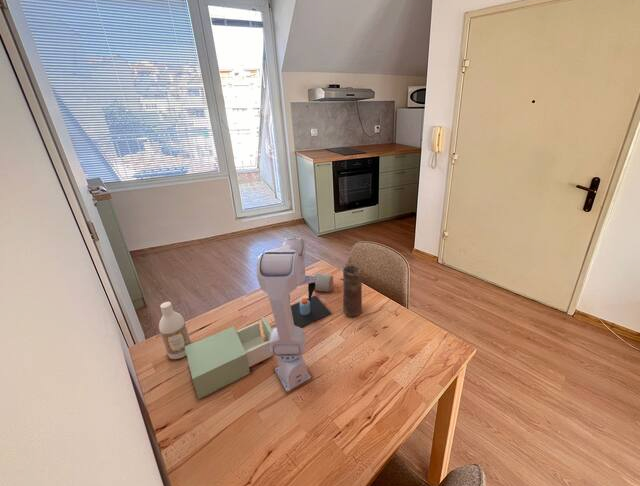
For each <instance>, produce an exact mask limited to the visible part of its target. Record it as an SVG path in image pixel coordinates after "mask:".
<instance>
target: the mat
mask: <svg viewBox="0 0 640 486" xmlns="http://www.w3.org/2000/svg"><path fill="white" fill-rule="evenodd" d="M306 299H307V300H309V298H306ZM299 303H300V301H299V302H297V303H295V304H292V305H291V310H292V316H293V321H294V325H295V326H297V327H300V328H302V329H303V328H304V327H305V326H308V325H310V324H312V323H314V322H316V321H318V320H319V321H320V320H321V319H323V318H325V317H327V316H330V315H331V314H332V313H331V311H330V310H329V309H328V308H327V307H326V306H325V304H323V303H322V301H320V299H319V298H318V297H317V296H316V295H312V296H311V301H310V313H309V314H307V315H302V314H301V313H300V304H299Z"/></svg>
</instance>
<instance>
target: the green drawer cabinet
mask: <svg viewBox="0 0 640 486" xmlns="http://www.w3.org/2000/svg"><path fill="white" fill-rule="evenodd" d="M236 331H237V329H236V328H235V326H231V327H229V328H226V329H224V330H221V331H219V332H216V333H214V334H212V335H208V336H207V337H204V338H202V339H200V340H197V341H194V342H191V344H189V345H187V346H185V351H186V360H187V362H188V367H189V371H190V375H191V379H192V382H193V385H194V389H195V392H196V396H197V398H198V400H200V399H203V398H204V397H206V396H209V395H210V394H212V393H214V392H216V391H218V390H220V389H222V388H224V387H226V386H227V385H228V386H229V385H230V384H232V383H234V382H236V381H238V380H240V379H242V378H244V377H246V376H248V375H250V374H251V372H250V371H251V370H250V367H249V365H248V360H247V354H246V352H245V350H244V347H243V345H242V343H241V341H240V339H239V337H238V335H237V332H236Z"/></svg>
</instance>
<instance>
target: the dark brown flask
mask: <svg viewBox="0 0 640 486" xmlns="http://www.w3.org/2000/svg"><path fill="white" fill-rule="evenodd" d="M342 276H343V277H342V278H343V279H342V282H343V283H342V285H343V286H342V292H343V295H342V296H343V297H342V298H343V299H342V301H343V302H342V303H343V304H342V305H343V312H344V314H345V315H346V316H347V317H349V318H352V317H353V318H354V317H357V316H358V315H360V314H361V313H362V311H363V310H362V306H363V305H362V304H363V303H362V302H363V301H362V300H363V299H362V298H363V297H362V296H363V295H362V294H363V292H362V291H363V290H362V289H363V286H362V285H363V282H362V281H363V271H362V269H361V268H360V267H358V266H357V265H347V266H345V267H343V269H342Z"/></svg>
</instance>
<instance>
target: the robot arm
mask: <svg viewBox="0 0 640 486" xmlns="http://www.w3.org/2000/svg"><path fill="white" fill-rule="evenodd" d="M305 257H306V239H304V238H303V237H295V236H293V237H288V238H287V237H285V239H284V242H283V243H282V245H281V246H280V247H275V248H272V249H268V250H265V251H264V253H259V256H258V257H257V260H256V278H257V281H258V285H259V288H260V290H262V291H263V292H264V293H266V294H267V296H268V300H269V304H270V309H271V312H272V316H273V321H274V324H276V326H275V328H272V330H273V331H272V333H271V337H270V352H271V354H272V356H275V359H277V362H278V366H276V367H275V368H274V371H275V373H276V375H277V377H278V378H279V380H280V382H281V385H282V386H283V388H284V390H285V391H286V392H290V391H291V390H293V389H294V388H297V387H299V386H300V385H302V384H303V383H305V382H307V381H309V380H310V379H311V375H310V373H309V372H308V365H307V363H306V362H305V360H304V357H303V355H304V354H305V352H306V347H307V334H306V333H305V331H304V328H303V327H302V328H300V327H297V326H295V325H294V321H293V316H292V310H291V306H292V305H291V301H290V300H291V297H290V295H291V293H292V292H294V291H295V290H297V289H298V287H301V286H305V285H307V291H308V299H309V301H311V297H313V293H314V291H316V290H315V284H318V277H314V276H311V275H306V261H305V260H306V259H305Z"/></svg>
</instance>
